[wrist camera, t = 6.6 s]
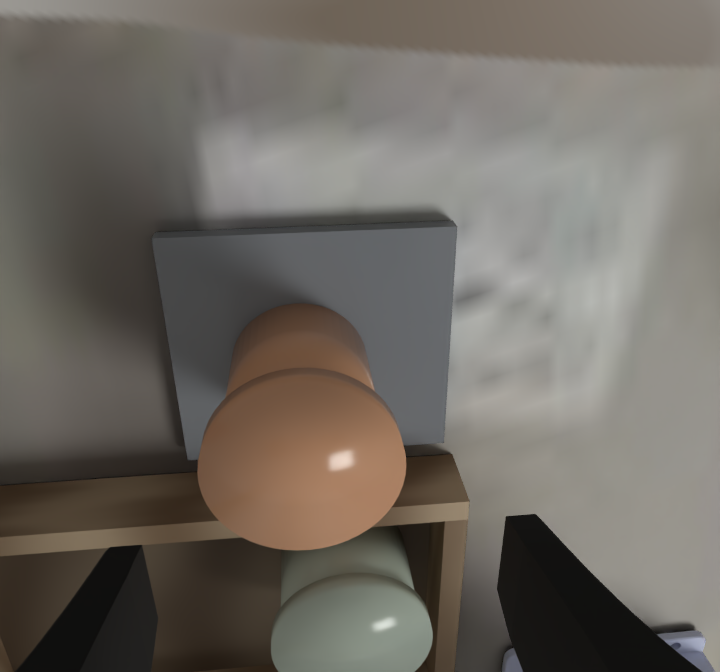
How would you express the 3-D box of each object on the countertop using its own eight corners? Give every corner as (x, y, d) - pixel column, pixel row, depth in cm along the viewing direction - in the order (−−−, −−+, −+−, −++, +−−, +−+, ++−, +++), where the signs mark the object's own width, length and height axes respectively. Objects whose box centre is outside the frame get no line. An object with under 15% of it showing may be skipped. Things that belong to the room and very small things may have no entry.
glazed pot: (413, 492, 24) (436, 580, 20) (409, 594, 27) (429, 689, 23) (268, 503, 24) (264, 595, 20) (278, 606, 26) (276, 704, 22)
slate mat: (452, 220, 20) (457, 226, 19) (440, 433, 24) (443, 443, 23) (155, 232, 19) (151, 238, 19) (190, 449, 23) (187, 460, 22)
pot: (387, 295, 20) (418, 387, 15) (371, 431, 22) (394, 549, 18) (218, 287, 19) (194, 382, 15) (219, 429, 22) (200, 551, 17)
